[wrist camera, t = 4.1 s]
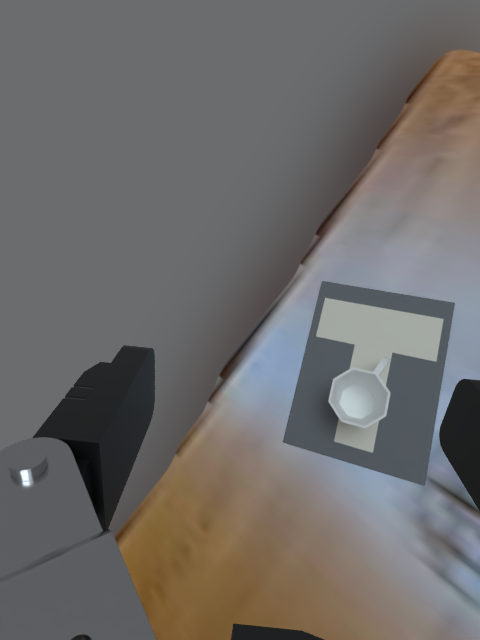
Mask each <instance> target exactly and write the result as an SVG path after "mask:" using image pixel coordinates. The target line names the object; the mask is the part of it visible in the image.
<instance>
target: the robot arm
mask: <svg viewBox="0 0 480 640" xmlns="http://www.w3.org/2000/svg"><path fill="white" fill-rule="evenodd" d="M154 402H155V356H154V350H153V348H145V347H136V346H123V347H122V348H121V350H120V351H119V352H118V354H117V355H116V357H115V358H114V360H113V361H112V363H104V362H100V363H98V364H97V365H95V366H93V367H92V368H90V369H88V370H87V371H85V372H84V373H83V374H82V375H81V377H80V378H79V379H78V380H77V382H76V383H75V384H74V387H73V388H71V389H70V391H69V392H68V393H67V394H66V396H65V399H63V400H62V401H61V402H60V403H59V405H58V406H57V407H56V408H55V410H54V411H53V412H52V414H51V415H50V416H49V417H48V419H47V420H46V421H45V423H44V424H43V425H42V426H41V427H40V429H39V430H38V431H37V433H36V434H35V435H34V436H33V438H31V439H27V440H23V441H20V442H17V443H15V444H12V445H10V446H8V447H6V448H5V449H3V450H1V451H0V640H156V638H155V635H154V633H153V630H152V628H151V625H150V623H149V621H148V618H147V616H146V613H145V611H144V608H143V606H142V603H141V601H140V599H139V596H138V594H137V591H136V589H135V586H134V584H133V581H132V579H131V577H130V574H129V572H128V569H127V567H126V564H125V562H124V559H123V557H122V555H121V552H120V550H119V547H118V545H117V543H116V540H115V538H114V536H113V534H112V533H111V532H110V530H108V527H109V525H110V522H111V520H112V517H113V515H114V512H115V510H116V507H117V505H118V502H119V500H120V497H121V495H122V492H123V490H124V487H125V485H126V482H127V480H128V477H129V475H130V472H131V470H132V467H133V465H134V462H135V460H136V457H137V454H138V452H139V450H140V447H141V445H142V442H143V439H144V437H145V435H146V432H147V429H148V427H149V424H150V422H151V418H152V415H153V410H154ZM439 437H440V444H441V447H442V450H443V452H444V453H445V455H446V457H447V458H448V460H449V462H450V463H451V465H452V466H453V468H454V470H455V471H456V473H457V475H458V476H459V478H460V480H461V481H462V483H463V484H464V486H465V488H466V489H467V491H468V493H469V494H470V496H471V498H472V499H473V501H474V503H475V504H476V506H477V507H478V509H479V511H480V380H470V379H462V380H461V381H459V382H458V384H457V385H456V387H455V390H454V392H453V395H452V398H451V400H450V403H449V406H448V408H447V411H446V413H445V416H444V419H443V421H442V424H441V427H440V433H439ZM231 640H324V639H321V638H319V637H316V636H314V635H311V634H309V633H306V632H304V631H299V630H289V629H280V628H270V627H260V626H251V625H241V624H233V629H232V637H231Z"/></svg>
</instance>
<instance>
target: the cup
mask: <svg viewBox="0 0 480 640" xmlns="http://www.w3.org/2000/svg"><path fill="white" fill-rule="evenodd" d="M389 361H390V359H389V358H388V357H386V356H384V357H383V359H382V360H381V361H380V363H379V364H378V365H377V367H376V368H375V370H374V371H373V372H372V371H367V370H363V369H359V368H354V367H352V368H350V369H349V370H347V371H345V372H344V373H342V374H340V375H339V376H337V377H335V378H334V379H333V381H332V386H331V391H330V395H329V400H328V402H329V403H330V405H331V407H332V408H333V410H334V411H335V413H336V415H337V416H338V418H339V419H340V421H341V422H343V423H347V424H351V425H354V426H358V427H362V428H367V427H369V426H371V425H372V424H374V423H376V422H377V421H379V420H381V419H382V418H384V417H386V415H387V409H388V404H389V399H390V391H389V390H388V388H387V387H386V385H385V384H384V383H383V381H382V380H381V378H380V377H379V375H380V374H381V373H382V371H383V370H384V368H385V367H386V365H387V364H388V362H389Z"/></svg>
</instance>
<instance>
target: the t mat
mask: <svg viewBox="0 0 480 640" xmlns="http://www.w3.org/2000/svg"><path fill="white" fill-rule="evenodd" d="M454 304H455V303H452V302H445V301H439V300H433V299H427V298H421V297H415V296H409V295H403V294H397V293H391V292H385V291H379V290H373V289H367V288H360V287H354V286H348V285H342V284H336V283H330V282H324V281H322V284H321V288H320V292H319V296H318V301H317V305H316V309H315V313H314V317H313V321H312V325H311V329H310V334H309V338H308V342H307V346H306V350H305V354H304V358H303V362H302V366H301V371H300V375H299V379H298V383H297V387H296V391H295V395H294V399H293V404H292V408H291V412H290V416H289V420H288V424H287V428H286V432H285V436H284V441H283V442H284V443H288V444H291V445H294V446H297V447H301V448H304V449H307V450H310V451H314V452H317V453H320V454H323V455H327V456H330V457H333V458H337V459H340V460H343V461H346V462H350V463H353V464H356V465H359V466H363V467H366V468H369V469H372V470H376V471H379V472H382V473H385V474H389V475H392V476H395V477H398V478H402V479H405V480H408V481H411V482H415V483H418V484H421V485H424V486H425V480H426V474H427V468H428V462H429V456H430V450H431V444H432V438H433V432H434V425H435V419H436V413H437V407H438V401H439V395H440V389H441V383H442V377H443V371H444V365H445V359H446V353H447V346H448V340H449V334H450V328H451V322H452V316H453V310H454ZM384 356H386V357H388V358H389V359H390V361H389V362H388V364H387V365H386V367H385V368H384V370H383V371H382V373H381V374H380V375H379V377H380V378H381V380H382V381H383V383H384V384H385V385H386V387H387V388H388V390H389V391H390V399H389V404H388V409H387V415H386V417H384V418H382V419H381V420H379V421H377V422H376V423H374V424H372V425H371V426H369V427H367V428H362V427H358V426H354V425H351V424H347V423H343V422H341V421H340V419H339V418H338V416H337V415H336V413H335V411H334V410H333V408H332V407H331V405H330V403H329V402H328V400H329V395H330V391H331V386H332V381H333V379H334V378H335V377H337V376H339V375H340V374H342V373H344V372H345V371H347V370H349V369H350V368H352V367H354V368H359V369H363V370H367V371H372V372H373V371H374V370H375V368H376V367H377V365H378V364H379V363H380V361H381V360H382V359H383V357H384Z"/></svg>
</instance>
